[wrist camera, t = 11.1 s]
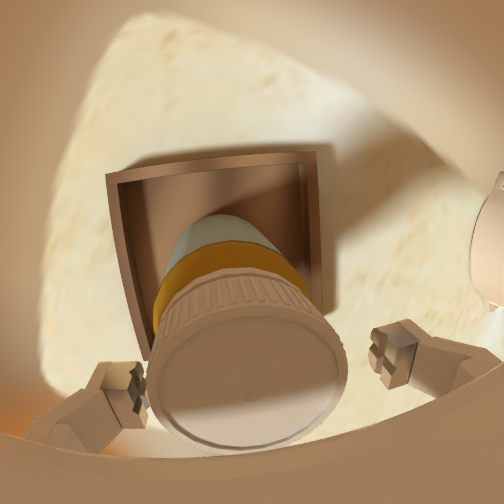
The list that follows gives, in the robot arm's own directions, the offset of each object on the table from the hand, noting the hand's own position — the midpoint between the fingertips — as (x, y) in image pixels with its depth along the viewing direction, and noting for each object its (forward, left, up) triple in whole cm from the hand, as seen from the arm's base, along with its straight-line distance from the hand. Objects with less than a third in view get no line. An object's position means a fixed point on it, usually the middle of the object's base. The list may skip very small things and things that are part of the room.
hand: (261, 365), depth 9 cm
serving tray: (+1, 0, -14) cm, 14 cm away
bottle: (+1, 0, -14) cm, 14 cm away
